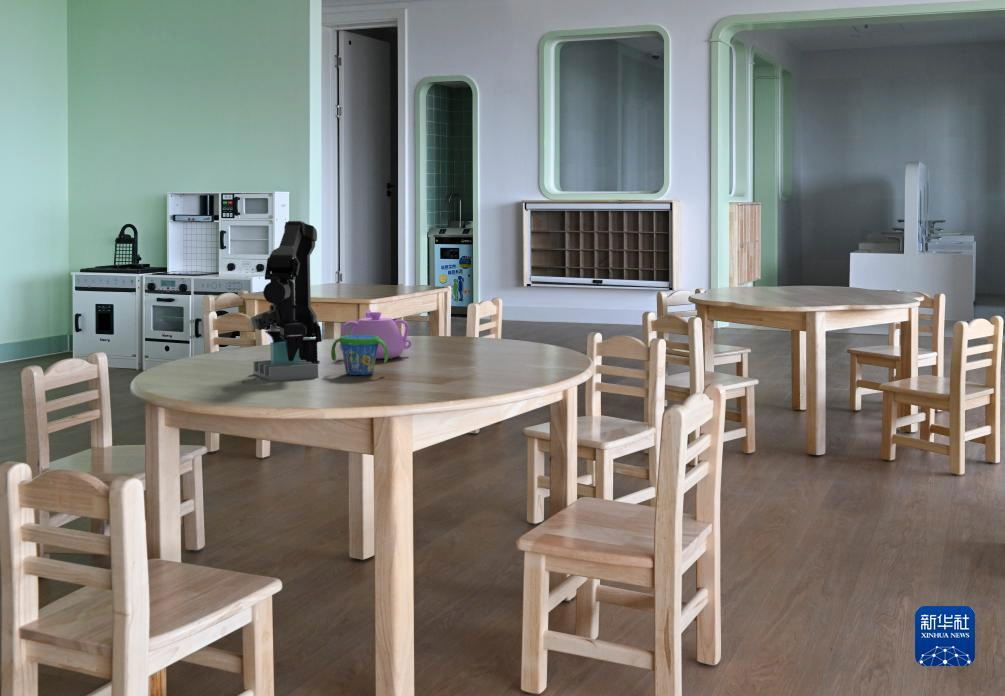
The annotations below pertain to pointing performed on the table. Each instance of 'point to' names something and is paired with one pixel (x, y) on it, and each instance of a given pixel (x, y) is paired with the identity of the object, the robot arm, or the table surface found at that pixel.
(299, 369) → the dish rack
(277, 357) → the tall teal box
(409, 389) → the table surface
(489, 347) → the table surface
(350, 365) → the snack cup
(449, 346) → the table surface
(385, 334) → the teapot
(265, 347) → the table surface
